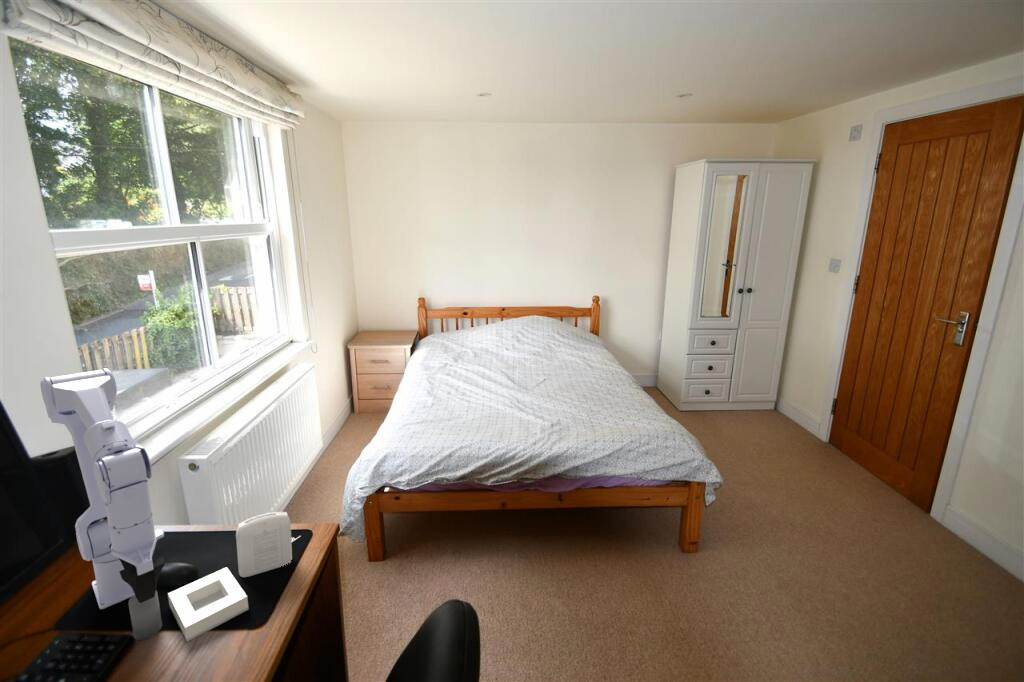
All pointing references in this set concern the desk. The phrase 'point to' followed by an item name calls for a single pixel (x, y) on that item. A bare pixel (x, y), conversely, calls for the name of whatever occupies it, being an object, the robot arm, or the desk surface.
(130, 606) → the grey peg
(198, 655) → the desk surface
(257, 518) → the photo printer
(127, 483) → the robot arm
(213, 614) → the housing
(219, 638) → the desk surface
